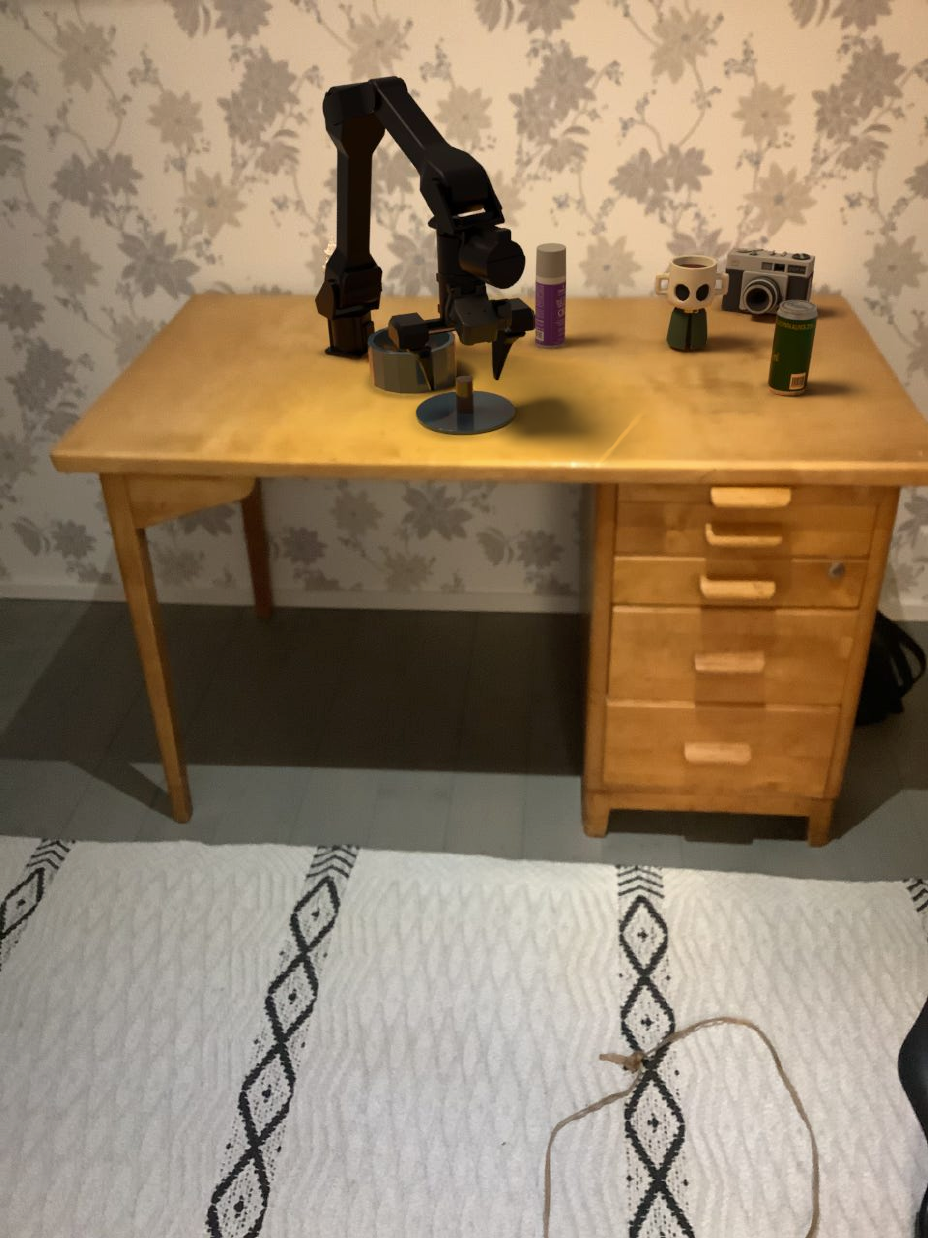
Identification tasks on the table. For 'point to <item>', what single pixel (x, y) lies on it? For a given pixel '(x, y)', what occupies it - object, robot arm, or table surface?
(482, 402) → the lid
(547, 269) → the container
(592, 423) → the table surface
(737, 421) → the table surface
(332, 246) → the flower shoulder figurine
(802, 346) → the beer can
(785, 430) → the table surface
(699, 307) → the character mug
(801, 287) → the camera
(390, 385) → the canister
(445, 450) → the table surface
